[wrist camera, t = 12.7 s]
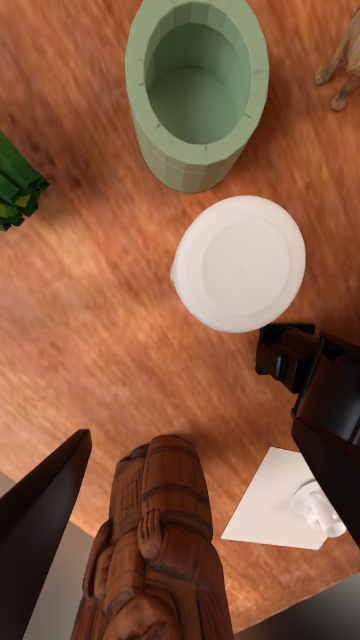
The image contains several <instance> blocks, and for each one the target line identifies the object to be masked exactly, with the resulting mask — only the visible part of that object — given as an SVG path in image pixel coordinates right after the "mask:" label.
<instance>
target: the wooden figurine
mask: <svg viewBox="0 0 360 640" xmlns="http://www.w3.org/2000/svg"><path fill="white" fill-rule="evenodd" d="M212 536H213V525H212V515H211V508H210V501H209V495H208V490H207V486H206V481H205V477H204V473H203V470H202V467H201V463H200V460H199V457H198V454H197V451H196V449H195V447H194V446H193V445H191V444H189V443H188V442H186V441H184V440H183V439H180V438H175V437H172V436H165V437H157V438H154V439H152V441H151V443H150V444H149V445H144V446H141V447H140V448H138V449H135V450H133V451H132V452H131V455H130V459H129V460H126V461H122V462H118V463H117V465H116V470H115V475H114V480H113V484H112V491H111V498H110V506H109V520H107V521H106V522H105V523H104V524H103V525H102V526H101V527H100V529H99V531H98V533H97V535H96V537H95V539H94V542H93V546H92V549H91V552H90V555H89V559H88V563H87V567H86V570H85V575H84V579H83V585H82V589H83V596H82V599H81V602H80V605H79V608H78V612H77V615H76V619H75V622H74V626H73V630H72V634H71V638H70V640H234V635H233V630H232V624H231V618H230V612H229V607H228V602H227V596H226V591H225V584H224V573H223V566H222V564H221V561H220V558H219V556H218V553H217V551H216V549H215V548H214V546H213V545H212V543H211V541H212V539H213V538H212Z"/></svg>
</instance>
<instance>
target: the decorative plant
mask: <svg viewBox="0 0 360 640" xmlns="http://www.w3.org/2000/svg"><path fill="white" fill-rule="evenodd" d="M49 185H50V184H49V183H48V181H47V180H46V179H45V178H44V177H43V176H42V175H40V174H39V173H38V172H37V171H35V169H34V168H33V167H32V166H31V165H30V164H29V163H28V162H27V160H26V159H25V158H24V157H23V156H22V155H21V154H20V153H19V151H18V150H17V149H16V148H15V147H14V146H13V144H12V143H11V142H10V141H9V140H8V138H7V137H6V136H5V135H4V134H3V132H2V131H1V130H0V231H7V230H8V229H9V228H10V227H11V224H12V225H14V226H18V227H19V226H20V225H21V224H22V223H23V221H24V220H25V219H24V218H22V216H23V215H22V214H24V215H26V216H28V217H30V216H31V215H32V214H33V213H34V212H35V211H36V210H37V209H38V202H37V199H38V197H39V195H40V193H41V190H42V191H44V190H45V189H46V188H47V187H48V186H49ZM20 212H21V213H22V214H21V213H20Z"/></svg>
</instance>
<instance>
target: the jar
mask: <svg viewBox="0 0 360 640" xmlns="http://www.w3.org/2000/svg"><path fill="white" fill-rule="evenodd" d="M269 70H270V69H269V61H268V54H267V46H266V41H265V38H264V35H263V33H262V30H261V28H260V25H259V23H258V20H257V17H256V15H255V14H254V12H253V10H252V9H251V8H250V6H249V5H248V4H247V3H246V1H245V0H144V1H143V3H142V5H141V7H140V8H139V10H138V12H137V14H136V16H135V18H134V20H133V22H132V24H131V28H130V33H129V38H128V43H127V48H126V52H125V75H126V88H127V93H128V98H129V103H130V108H131V112H132V117H133V122H134V127H135V131H136V136H137V140H138V143H139V147H140V150H141V153H142V156H143V158H144V160H145V162H146V164H147V166H148V167H149V169H150V170H151V171H152V173H153V174H154V175H155V176H156V177H157V178H158V179H159V180H160V181H161V182H162V183H163V184H165V185H166V186H168V187H170V188H172V189H174V190H176V191H180V192H185V193H197V192H202V191H205V190H208V189H210V188H212V187H214V186H215V185H216V184H218V183H219V182H220V181H221V180H222V179H223V178H224V177H225V176H226V175H227V174H228V172H229V171H230V169H231V168H232V166H233V165H234V163H235V162H236V160H237V159H238V157H239V155H240V154H241V152H242V150H243V149H244V147H245V145H246V144H247V142H248V140H249V139H250V137H251V136H252V134H253V132H254V131H255V129H256V127H257V125H258V123H259V120H260V117H261V115H262V112H263V109H264V106H265V103H266V99H267V91H268V81H269Z"/></svg>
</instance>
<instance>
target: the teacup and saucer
mask: <svg viewBox="0 0 360 640" xmlns="http://www.w3.org/2000/svg"><path fill="white" fill-rule="evenodd" d="M291 507H292V509H293V511H294V512H295V513H296V514H297V515H299V516H301V517H306V520H307V523H308V525H309V526H310V527H311V528H312V529H313V530H314V531H317V532H324V533H325V535H326V536H327V537H337V536H340V535H342V534H343V533H344V532H345V531H346V529H347V528H346V527H345V525H344V524H343V522H342V521H341V519H340V517H339V516H338V514H337V513H336V511H335V510H334V508H333V506H332V505H331V503H330V502H329V500H328V499H327V497H326V495H325V494H324V492H323V491H322V489H321V488H320V486H319V484H318V483H317V481H316V480H314V481H311V482H309V483H307V484H305V485H303V486H302V487H301V488H300V489H299V490H298V491H297V492H296V493H295V494H294V496H293V498H292V501H291Z"/></svg>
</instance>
